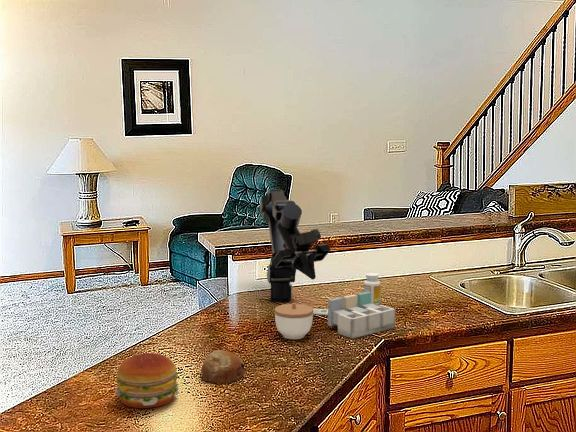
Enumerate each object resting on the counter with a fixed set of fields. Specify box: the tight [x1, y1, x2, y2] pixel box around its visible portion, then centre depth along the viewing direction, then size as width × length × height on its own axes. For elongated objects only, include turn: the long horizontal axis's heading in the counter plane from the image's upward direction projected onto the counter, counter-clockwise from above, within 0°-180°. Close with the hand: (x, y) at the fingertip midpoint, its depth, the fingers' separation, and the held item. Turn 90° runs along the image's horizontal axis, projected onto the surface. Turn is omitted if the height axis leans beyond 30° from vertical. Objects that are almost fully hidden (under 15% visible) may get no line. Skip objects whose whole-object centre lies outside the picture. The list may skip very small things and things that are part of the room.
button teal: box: [356, 291, 383, 311], centre depth 208 cm, size 7×4×8 cm, turn 38°
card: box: [313, 308, 328, 316], centre depth 220 cm, size 8×5×1 cm, turn 83°
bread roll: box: [200, 349, 246, 384], centre depth 167 cm, size 10×10×8 cm
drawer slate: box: [327, 296, 354, 327], centre depth 202 cm, size 7×4×8 cm, turn 38°
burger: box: [114, 352, 179, 409], centre depth 152 cm, size 14×14×10 cm
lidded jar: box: [274, 302, 314, 340], centre depth 196 cm, size 11×11×9 cm
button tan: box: [342, 294, 369, 315], centre depth 205 cm, size 7×4×8 cm, turn 38°
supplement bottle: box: [363, 272, 381, 306], centre depth 230 cm, size 5×5×10 cm
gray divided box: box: [337, 304, 397, 339], centre depth 202 cm, size 6×17×6 cm, turn 127°
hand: (314, 278), depth 210 cm, fingers closed
